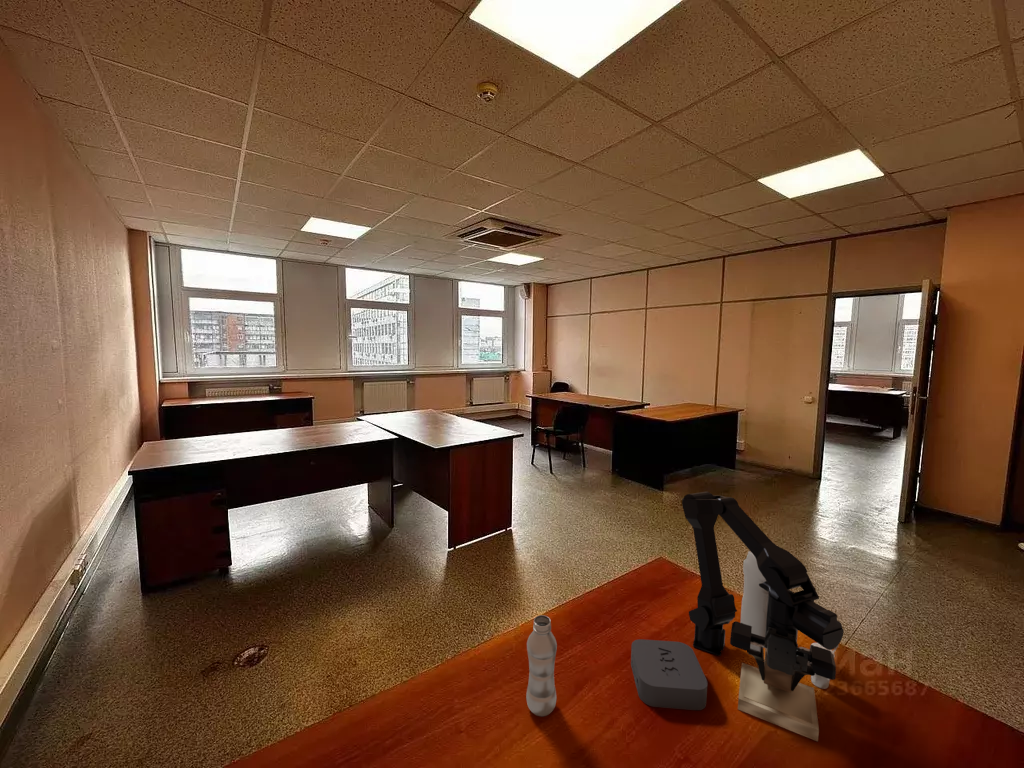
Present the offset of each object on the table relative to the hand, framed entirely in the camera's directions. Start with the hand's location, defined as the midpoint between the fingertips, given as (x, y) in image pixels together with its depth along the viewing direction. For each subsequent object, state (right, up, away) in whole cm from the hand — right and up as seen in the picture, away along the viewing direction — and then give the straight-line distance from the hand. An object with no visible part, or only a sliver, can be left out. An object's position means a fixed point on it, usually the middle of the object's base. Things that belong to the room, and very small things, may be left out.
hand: (777, 684), depth 92 cm
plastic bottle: (-51, -5, -1) cm, 51 cm away
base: (0, -5, 0) cm, 4 cm away
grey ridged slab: (+8, -3, +22) cm, 24 cm away
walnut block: (+1, -1, +2) cm, 3 cm away
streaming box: (-22, -4, +6) cm, 23 cm away
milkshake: (+14, -4, +6) cm, 16 cm away
